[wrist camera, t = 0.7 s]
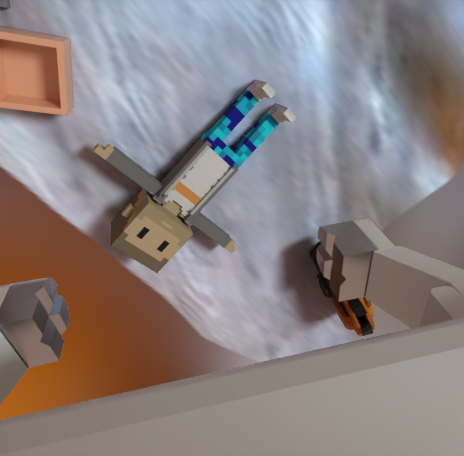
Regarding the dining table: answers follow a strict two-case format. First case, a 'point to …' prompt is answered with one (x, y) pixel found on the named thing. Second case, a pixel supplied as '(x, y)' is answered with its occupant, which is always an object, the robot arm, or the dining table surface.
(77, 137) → the dining table surface
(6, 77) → the orange square open box
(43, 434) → the robot arm
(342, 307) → the tool
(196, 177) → the toy
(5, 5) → the mat
